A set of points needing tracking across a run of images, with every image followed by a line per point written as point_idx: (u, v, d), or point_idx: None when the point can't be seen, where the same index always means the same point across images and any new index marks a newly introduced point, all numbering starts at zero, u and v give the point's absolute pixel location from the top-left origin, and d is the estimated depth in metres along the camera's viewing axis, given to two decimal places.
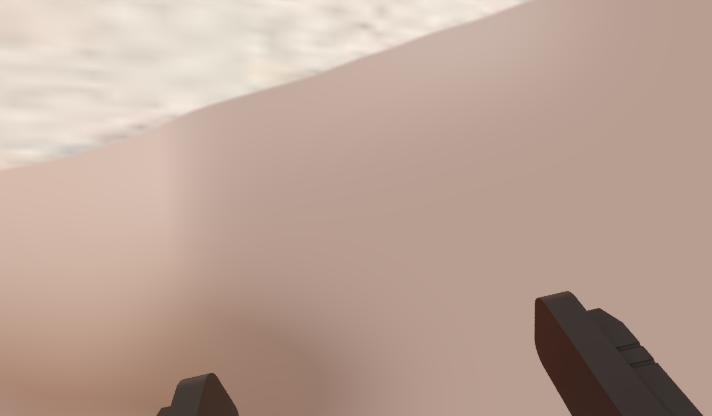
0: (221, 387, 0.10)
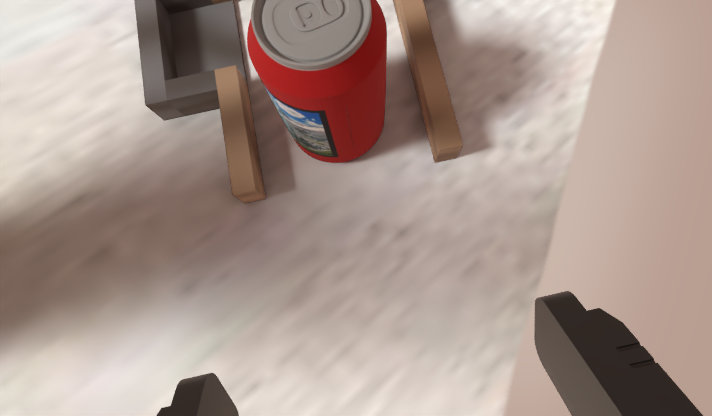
0: (221, 387, 0.10)
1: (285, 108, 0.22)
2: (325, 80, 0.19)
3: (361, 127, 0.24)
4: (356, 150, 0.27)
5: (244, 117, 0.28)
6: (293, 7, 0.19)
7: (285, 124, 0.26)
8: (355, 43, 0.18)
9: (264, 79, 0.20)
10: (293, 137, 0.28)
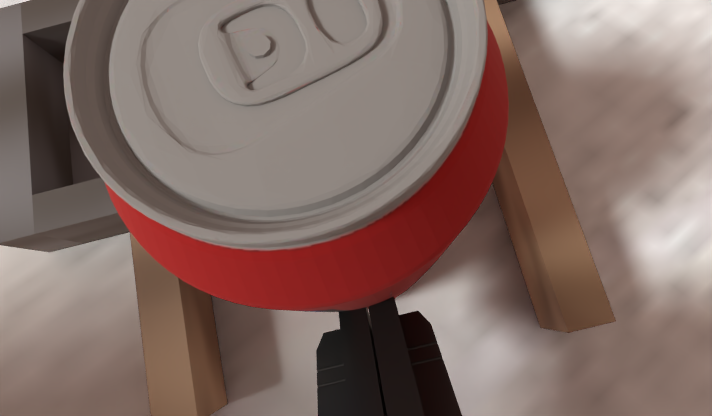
0: (370, 318, 0.11)
1: None
2: (330, 268, 0.05)
3: (412, 284, 0.11)
4: None
5: None
6: (213, 22, 0.06)
7: None
8: (442, 145, 0.05)
9: None
10: None
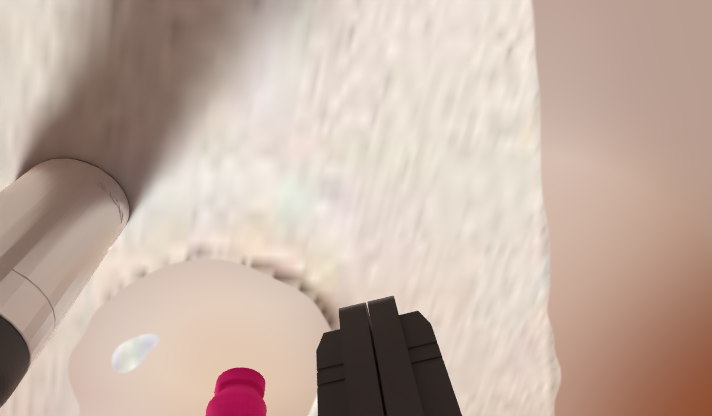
0: (370, 318, 0.11)
1: None
2: None
3: None
4: None
5: None
6: None
7: None
8: None
9: None
10: None
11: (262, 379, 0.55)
